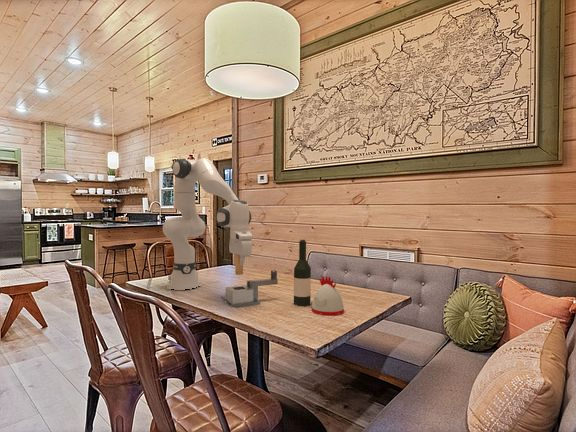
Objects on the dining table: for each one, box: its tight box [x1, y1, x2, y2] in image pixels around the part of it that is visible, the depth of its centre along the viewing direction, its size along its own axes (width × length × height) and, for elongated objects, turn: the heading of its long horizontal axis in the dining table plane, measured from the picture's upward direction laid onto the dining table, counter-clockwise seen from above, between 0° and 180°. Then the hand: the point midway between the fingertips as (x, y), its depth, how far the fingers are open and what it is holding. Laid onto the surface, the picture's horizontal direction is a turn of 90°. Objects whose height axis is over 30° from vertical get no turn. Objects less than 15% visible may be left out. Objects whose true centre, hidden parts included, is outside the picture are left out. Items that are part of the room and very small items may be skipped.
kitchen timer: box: [311, 275, 345, 317], centre depth 149 cm, size 14×14×15 cm
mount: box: [220, 279, 261, 308], centre depth 164 cm, size 18×13×10 cm
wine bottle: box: [293, 239, 312, 307], centre depth 160 cm, size 8×8×30 cm
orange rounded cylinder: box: [234, 254, 244, 276], centre depth 160 cm, size 4×4×10 cm
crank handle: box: [248, 269, 279, 287], centre depth 166 cm, size 3×14×6 cm, turn 118°
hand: (239, 264), depth 160 cm, fingers closed on orange rounded cylinder, 4 cm apart
